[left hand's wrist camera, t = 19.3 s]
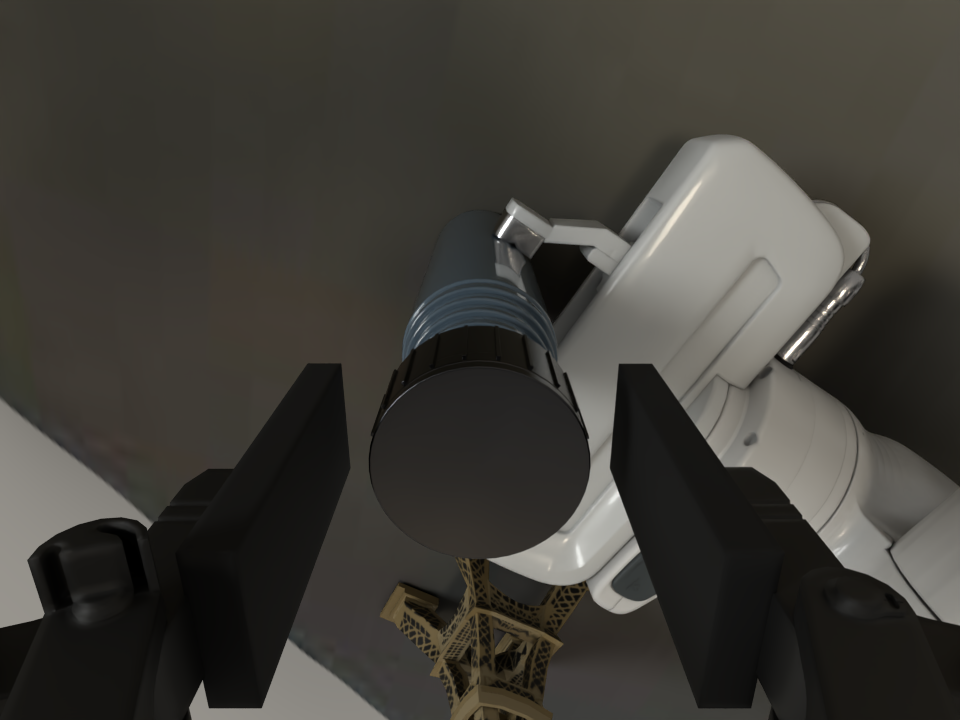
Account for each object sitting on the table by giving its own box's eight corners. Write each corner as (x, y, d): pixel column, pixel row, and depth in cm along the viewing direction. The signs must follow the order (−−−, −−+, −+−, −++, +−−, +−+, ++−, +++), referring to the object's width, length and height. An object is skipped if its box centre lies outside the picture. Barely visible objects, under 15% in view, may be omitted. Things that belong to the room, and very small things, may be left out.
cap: (476, 280, 13) (476, 315, 11) (615, 410, 15) (641, 466, 12) (344, 415, 15) (318, 472, 12) (483, 526, 16) (483, 596, 13)
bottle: (432, 296, 32) (367, 536, 14) (437, 205, 30) (371, 341, 12) (520, 303, 32) (573, 550, 14) (530, 213, 30) (605, 359, 12)
